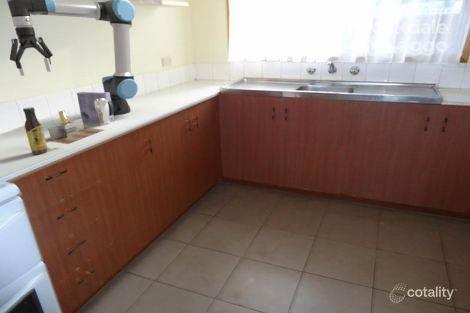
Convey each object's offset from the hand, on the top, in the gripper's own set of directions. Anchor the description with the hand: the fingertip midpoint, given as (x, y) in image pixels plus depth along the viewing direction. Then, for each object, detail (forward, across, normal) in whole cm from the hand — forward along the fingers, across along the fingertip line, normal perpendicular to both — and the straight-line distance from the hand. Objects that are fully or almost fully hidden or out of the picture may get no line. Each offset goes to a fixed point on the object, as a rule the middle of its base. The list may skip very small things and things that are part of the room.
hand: (36, 73), depth 158 cm
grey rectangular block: (+29, -6, -16) cm, 34 cm away
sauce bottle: (+31, -22, -21) cm, 43 cm away
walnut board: (+31, -2, -20) cm, 37 cm away
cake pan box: (+31, +22, -10) cm, 39 cm away
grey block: (+29, 0, -16) cm, 33 cm away
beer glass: (+31, +18, -19) cm, 40 cm away
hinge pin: (+29, -3, -16) cm, 33 cm away
